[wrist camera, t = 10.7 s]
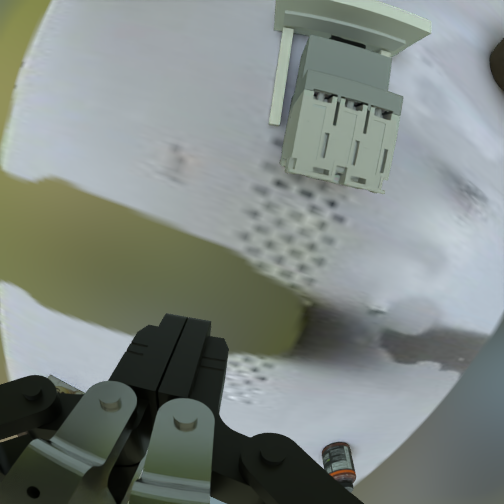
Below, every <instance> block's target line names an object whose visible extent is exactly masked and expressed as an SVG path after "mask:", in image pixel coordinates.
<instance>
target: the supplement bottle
mask: <svg viewBox="0 0 504 504" xmlns="http://www.w3.org/2000/svg"><path fill="white" fill-rule="evenodd" d="M322 457H323V465H324V470H325V471H326V472H328V473H329V474H330V475H331V476H332V477H333V478H334V479H335V480H337V481H338V482H339V483H340V484H341V485H342V486H344V487H345V488H346V489H347V490H348V491H349V492H352V491H353V483H354V481H355V480H356V474H355V469H354V464H353V460H352V455H351V451H350V447H349V445H348V444H345V443H334V444H331V445H329V446H327V447H325V448H324V450H323V451H322Z"/></svg>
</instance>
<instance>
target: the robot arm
mask: <svg viewBox="0 0 504 504" xmlns="http://www.w3.org/2000/svg"><path fill="white" fill-rule="evenodd" d="M210 331H211V321H206V320H201V319H195V318H190V317H189V318H188V317H184V316H178V315H173V314H167V313H166V314H165V316H164V318H163V319H162V321H161V323H160V325H159V327H157V326H152V325H148V326H146V327H145V328H143V329H142V330H140V331H139V332H137V334H136V336H135V337H134V339H133V340H132V343H131V344H130V345H129V347H128V348H127V352H125V353H124V355H123V357H122V358H121V360H120V362H119V363H118V365H117V367H116V368H115V370H114V372H113V373H112V375H111V377H110V378H109V380H108V381H103V382H99V383H97V384H95V385H93V386H92V387H90V388H89V389H88V390H87V392H86V393H85V394H68V393H57V390H56V387H55V385H54V383H53V382H52V381H51V380H49V379H48V378H46V377H43V376H39V375H31V376H26V377H23V378H20V379H17V380H14V381H11V382H7V383H4V384H1V385H0V440H1V439H5V438H7V437H11V436H14V435H17V434H20V433H23V432H26V431H28V434H25V435H22V436H19V437H16V438H13V439H10V440H7V441H4V442H0V504H210V496H211V497H213V498H215V499H217V500H220V501H222V502H224V503H227V504H364V503H363V502H361V501H360V500H359V499H358V498H357V497H355V496H354V495H353V494H352V493H351V492H349V491H348V490H347V489H346V488H345V487H344V486H342V485H341V484H340V483H339V482H338V481H337V480H335V479H334V478H333V477H332V476H331V475H330V474H329V473H328V472H326V471H325V470H324V469H323V468H322V467H321V466H320V465H319V464H318V463H317V462H315V461H314V460H313V459H312V458H311V457H310V456H309V455H308V454H307V453H306V452H305V451H304V450H303V449H302V448H300V447H299V446H298V445H297V444H296V443H295V442H294V441H293V440H291V439H290V438H288V437H286V436H284V435H281V434H276V433H262V434H258V435H255V436H253V437H251V438H250V437H248V436H245V435H243V434H240V433H238V432H236V431H234V430H232V429H230V428H229V427H228V426H227V425H226V424H225V423H224V422H223V421H222V419H221V418H220V415H219V411H220V405H221V400H222V394H223V388H224V382H225V374H226V367H227V359H228V351H229V349H228V346H227V344H226V342H225V339H224V338H218V337H212V336H210ZM147 450H148V451H147ZM146 453H147V454H146ZM142 470H143V472H142ZM141 472H142V475H141V478H140V479H139V476H140V474H141ZM128 502H129V503H128Z"/></svg>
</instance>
